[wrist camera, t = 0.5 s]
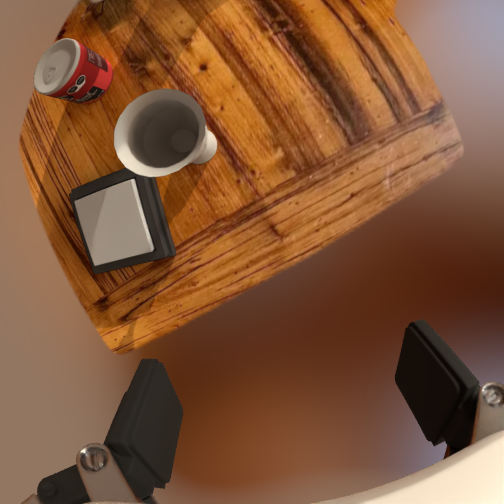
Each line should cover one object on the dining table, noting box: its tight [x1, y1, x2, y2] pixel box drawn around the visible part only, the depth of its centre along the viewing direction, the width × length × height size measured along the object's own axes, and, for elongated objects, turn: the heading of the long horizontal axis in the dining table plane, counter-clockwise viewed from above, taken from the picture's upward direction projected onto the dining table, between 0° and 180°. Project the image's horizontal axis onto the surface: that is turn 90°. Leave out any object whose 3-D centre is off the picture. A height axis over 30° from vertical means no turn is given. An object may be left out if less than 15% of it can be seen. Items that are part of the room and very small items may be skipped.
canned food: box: [34, 38, 113, 104], centre depth 25 cm, size 8×8×11 cm
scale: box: [69, 168, 176, 274], centre depth 36 cm, size 14×14×3 cm
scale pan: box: [74, 179, 155, 266], centre depth 35 cm, size 10×10×2 cm
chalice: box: [114, 89, 217, 177], centre depth 26 cm, size 7×7×18 cm
